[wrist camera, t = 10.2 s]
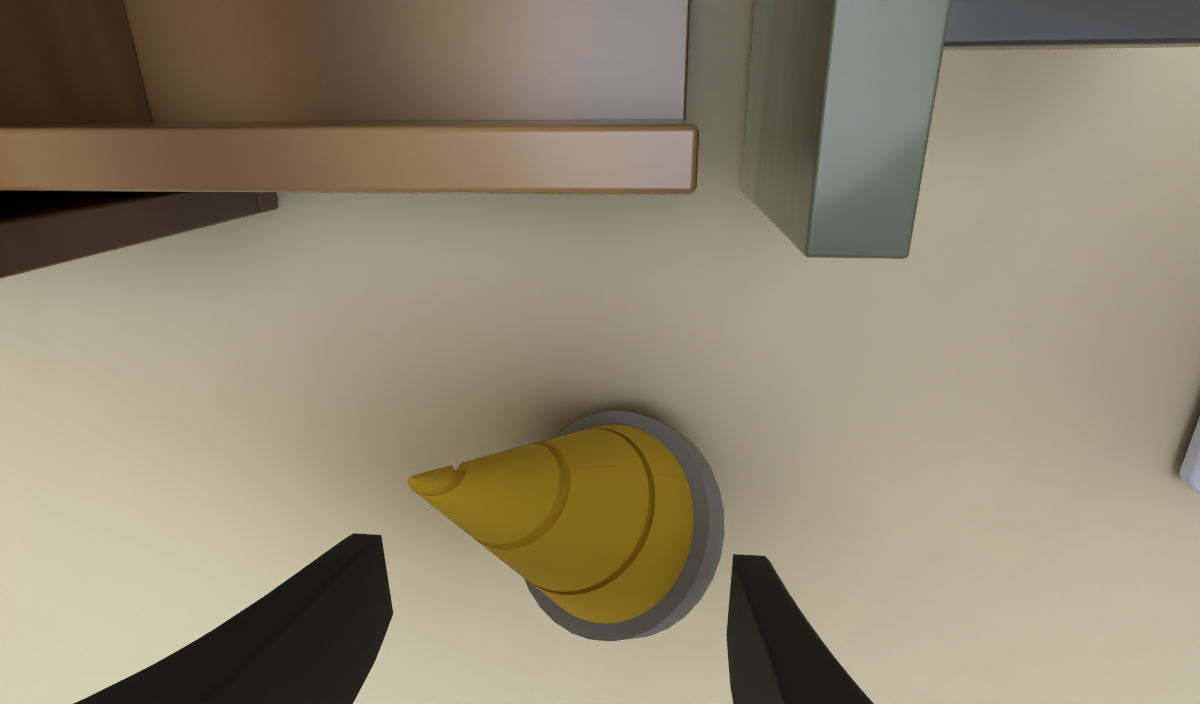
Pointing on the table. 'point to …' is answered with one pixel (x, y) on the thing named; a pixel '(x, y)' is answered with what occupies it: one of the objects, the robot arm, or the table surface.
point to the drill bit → (595, 521)
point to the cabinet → (106, 221)
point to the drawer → (510, 97)
